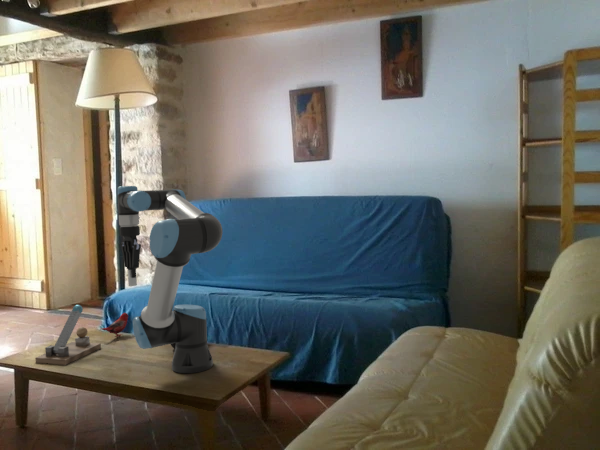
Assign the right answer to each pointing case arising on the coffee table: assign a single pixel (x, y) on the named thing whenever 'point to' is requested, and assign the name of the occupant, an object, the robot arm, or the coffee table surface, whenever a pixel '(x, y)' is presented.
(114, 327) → the decorative bird figurine
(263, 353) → the coffee table surface
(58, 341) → the lever
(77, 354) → the nutcracker base
